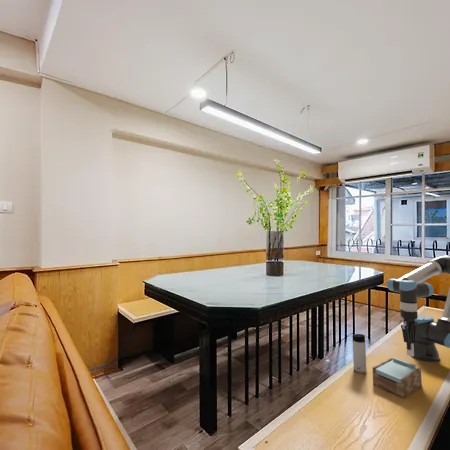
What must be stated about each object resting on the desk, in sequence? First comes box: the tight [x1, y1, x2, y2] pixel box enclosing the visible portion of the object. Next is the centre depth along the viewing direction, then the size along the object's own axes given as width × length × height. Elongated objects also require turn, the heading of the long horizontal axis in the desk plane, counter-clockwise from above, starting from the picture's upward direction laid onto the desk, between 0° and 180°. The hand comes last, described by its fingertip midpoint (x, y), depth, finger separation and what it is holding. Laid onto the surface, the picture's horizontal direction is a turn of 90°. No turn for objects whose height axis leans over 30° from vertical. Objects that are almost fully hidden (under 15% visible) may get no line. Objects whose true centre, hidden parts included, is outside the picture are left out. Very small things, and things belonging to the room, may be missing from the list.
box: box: [371, 357, 423, 400], centre depth 135 cm, size 18×14×8 cm
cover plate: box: [375, 357, 418, 384], centre depth 135 cm, size 17×12×4 cm
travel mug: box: [352, 333, 368, 375], centre depth 149 cm, size 6×7×20 cm
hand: (410, 355), depth 143 cm, fingers closed
